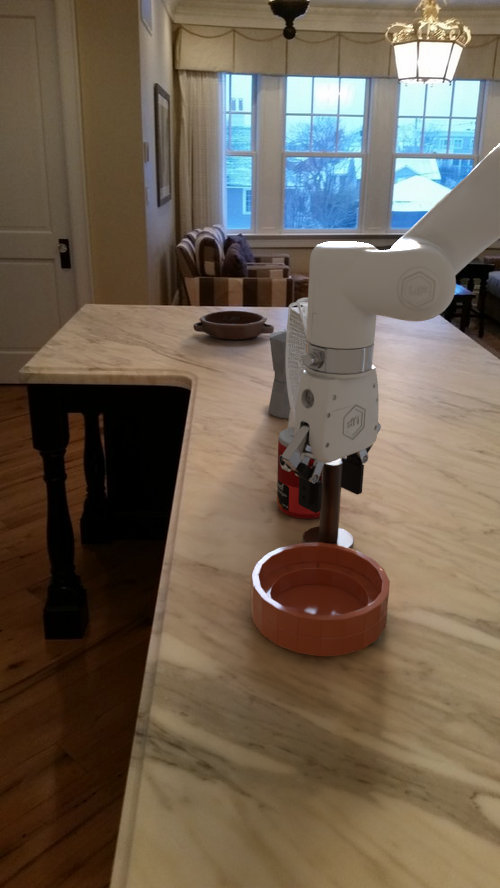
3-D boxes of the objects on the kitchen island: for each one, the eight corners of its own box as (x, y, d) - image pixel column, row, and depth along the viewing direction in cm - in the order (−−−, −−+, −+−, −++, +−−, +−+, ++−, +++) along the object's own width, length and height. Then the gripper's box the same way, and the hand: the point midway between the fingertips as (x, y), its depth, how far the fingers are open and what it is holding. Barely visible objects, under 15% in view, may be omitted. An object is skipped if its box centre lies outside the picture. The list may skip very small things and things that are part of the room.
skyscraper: (315, 484, 108) (324, 301, 97) (271, 473, 111) (276, 295, 100) (335, 466, 114) (346, 292, 103) (294, 456, 117) (300, 287, 107)
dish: (197, 326, 202) (196, 309, 200) (274, 328, 201) (274, 310, 199) (190, 342, 186) (189, 323, 184) (273, 343, 185) (273, 325, 183)
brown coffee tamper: (325, 537, 93) (331, 446, 88) (363, 556, 89) (371, 462, 84) (291, 553, 89) (294, 459, 84) (328, 575, 85) (334, 477, 80)
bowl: (316, 565, 87) (318, 529, 85) (413, 620, 77) (417, 582, 75) (224, 611, 78) (224, 573, 76) (320, 681, 68) (322, 639, 66)
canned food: (281, 492, 105) (283, 423, 101) (334, 498, 103) (339, 428, 99) (272, 516, 98) (273, 444, 94) (329, 522, 97) (333, 449, 92)
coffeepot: (256, 402, 142) (258, 314, 135) (299, 398, 145) (303, 311, 138) (284, 429, 129) (287, 332, 122) (331, 424, 131) (337, 329, 124)
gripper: (308, 379, 71) (301, 534, 78) (413, 350, 82) (399, 489, 89) (259, 363, 76) (256, 509, 83) (363, 338, 87) (354, 470, 94)
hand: (330, 498), depth 86 cm, fingers open, 6 cm apart
